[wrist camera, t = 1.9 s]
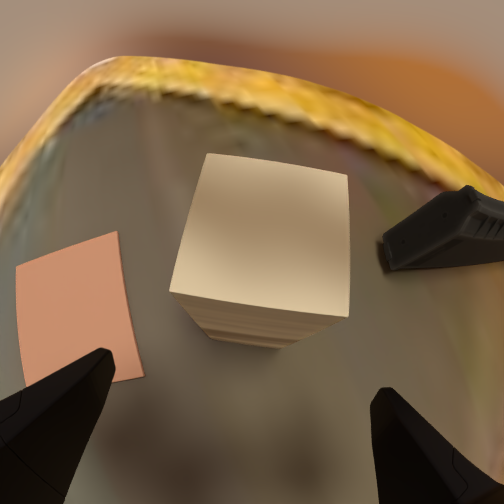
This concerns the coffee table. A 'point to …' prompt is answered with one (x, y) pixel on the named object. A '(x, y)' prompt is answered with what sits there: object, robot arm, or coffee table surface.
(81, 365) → the robot arm
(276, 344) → the birch block
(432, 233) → the black flat curved piece
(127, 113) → the coffee table surface
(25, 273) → the terracotta mat
